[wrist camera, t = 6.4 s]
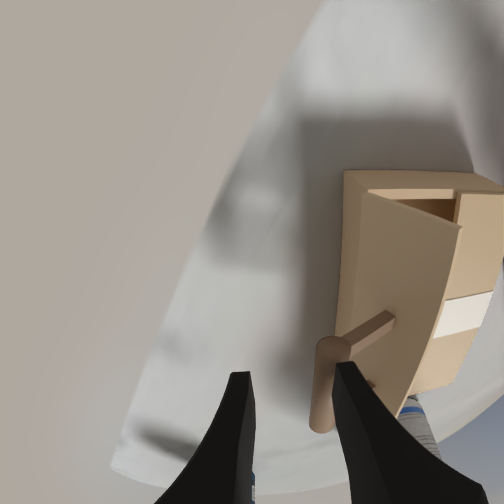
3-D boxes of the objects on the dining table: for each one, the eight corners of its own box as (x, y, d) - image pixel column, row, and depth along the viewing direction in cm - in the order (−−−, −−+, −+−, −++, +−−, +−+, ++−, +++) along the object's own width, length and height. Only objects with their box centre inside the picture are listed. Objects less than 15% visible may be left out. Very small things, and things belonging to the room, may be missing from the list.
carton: (475, 173, 15) (518, 194, 11) (432, 349, 23) (451, 384, 19) (343, 170, 16) (371, 192, 12) (330, 367, 23) (340, 411, 19)
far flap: (338, 405, 19) (286, 437, 18) (367, 192, 12) (280, 215, 11) (380, 446, 16) (327, 485, 14) (463, 226, 8) (388, 270, 7)
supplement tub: (337, 413, 27) (360, 541, 14) (422, 382, 25) (467, 500, 12) (348, 445, 31) (365, 543, 18) (417, 421, 29) (447, 515, 16)
